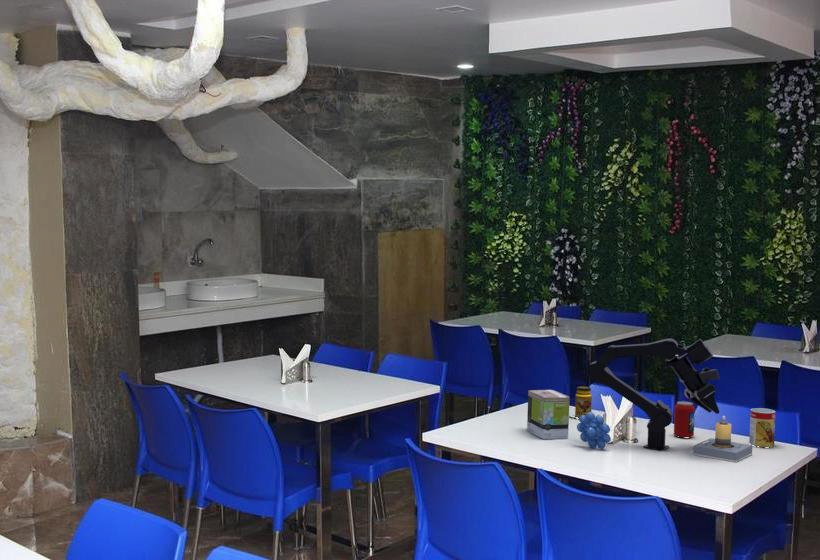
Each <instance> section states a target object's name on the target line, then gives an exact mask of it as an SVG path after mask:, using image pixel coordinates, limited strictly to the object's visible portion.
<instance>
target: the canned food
mask: <svg viewBox="0 0 820 560" xmlns="http://www.w3.org/2000/svg"><path fill="white" fill-rule="evenodd" d="M749 415H750V416H749V417H750V419H749V439H748V441H749V443H750V444H751V445H754V446H759V447H773V446H774V447H775V434H776V433H775V431H776V411H775V410H774V409H770V408H763V407H755V408H751V409H750V414H749ZM749 443H748V444H749ZM774 447H773V448H774Z"/></svg>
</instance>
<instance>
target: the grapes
mask: <svg viewBox="0 0 820 560" xmlns="http://www.w3.org/2000/svg"><path fill="white" fill-rule="evenodd" d="M578 421H579V422H578V423H577V424H576V429H577V431H578V432H579V433H580V435H579V437H580V440H581V441H582V442H584V443H587V445H588V447H589V448H591V449H596V448H597V447H598V448H599V449H602V450H603V449H604V448H605V447H606V443H607V444H608V443H610V442H611V440H612V439H611V436H610V434H609V433H611V432H610V431H611V427H610V425H609V424H608V423H605V419H604V417H603V416H601V415H600V414H599V415H595V413H593V411H591V412H588V413H587V417H586V416H585V415H581V416H580V417H579V420H578Z"/></svg>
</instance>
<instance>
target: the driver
mask: <svg viewBox="0 0 820 560" xmlns="http://www.w3.org/2000/svg"><path fill="white" fill-rule="evenodd" d="M714 432H715V433H714V434H715V436H714V439H715V447H720V448H731V442H732V424H731V423H730V422H729V421H727V420H726V416H725V415H722V418H721V420H719V421H718V422H716V423H715V431H714Z"/></svg>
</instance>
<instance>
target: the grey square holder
mask: <svg viewBox="0 0 820 560" xmlns="http://www.w3.org/2000/svg"><path fill="white" fill-rule="evenodd" d="M692 451H693V452H692V456H699V457H703V458H704V457H705V458H709V459H716V460H720V461H726V462H732V463H738V462H740V461H742V460H744V459H745V457H746V458H747V456H748V457H749V455H750V454H752V455H753V446H752V445H749V443H748V444H747V443H741V442H737V441H731V448H720V447H715V438H709V439H705V440H703V441H701V442H699V443H697V444H694V445H693V447H692ZM750 456H751V455H750ZM741 459H742V460H741Z"/></svg>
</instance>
